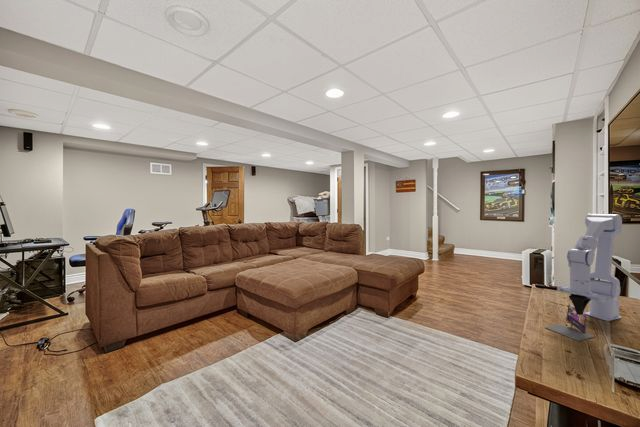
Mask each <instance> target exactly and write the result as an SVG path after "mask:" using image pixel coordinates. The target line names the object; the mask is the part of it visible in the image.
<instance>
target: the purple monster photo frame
mask: <svg viewBox="0 0 640 427" xmlns="http://www.w3.org/2000/svg"><path fill="white" fill-rule="evenodd" d="M573 311H575V312H576V310H575V307H574V305H571V304H568V305H567V311H566V312H567V313H566V318H565V320H566V322H568V323H569V324H571V325H570V327H571V328H573V326H574V327H575V329H577V330H579V331H582V332H583V333H586V330H587V329H586V327H587V320H588V319H587V316H586V314H584V313H583V314H582V315H581V316H582V317H583V319H584V322H583V323H581V322H580V315H578V314H576V313H574V312H573Z"/></svg>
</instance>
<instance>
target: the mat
mask: <svg viewBox="0 0 640 427" xmlns="http://www.w3.org/2000/svg"><path fill="white" fill-rule="evenodd" d="M544 329H546V330H549V331H552V332H554V333H557V334H558V335H561V336H563V337H567V338H569V339H571V340H574V341H576V342H581V341H586V340H590V339H592V338H596V336H595V335H593V334H589V333H587V332H585V333H583V332H582V331H581V330H579V329H577V328H574V327H571V326H568V325H565V324H564V323H557V324H553V325H550V326H545V327H544Z"/></svg>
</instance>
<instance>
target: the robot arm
mask: <svg viewBox="0 0 640 427" xmlns="http://www.w3.org/2000/svg"><path fill="white" fill-rule="evenodd" d="M584 223H585V226H586V232H585V235H583V236H580V237H579V238H578V240H577V242H576V244H575V245H574V247H573V248H571V249H569V250H568V251H567V253H566V254H567V255H566V259H567V260H566V261H567V263H568V268H569V286H565V285H564V286H563V285H557V287H556V290H557V292H564V293H567V294H569V295H568V298H569V300H570V302H571V303H572V306H573V307H574V308H575V310H576V311H575V310H574V311H575V314H577V315H578V316H582V314H584V315H585V316H586V315H587V316H590V317H593V318H596V319H600V320H603V321H605V322H609V321H613V320H619V319H622V318H623V317H622V316H620V302H619V299H618V298H619V297H620V295H621V282H620V280H619V279H618V278H617V277H615V276H614V275H613V274H612V263H613V254H614V253H613V252H614V244H615V243H614V242H615V238H616V236H619V235H620V234H621V233H622V227H623V218H622V216H621V215H620V214H619V213H616V214H613V213H612V214H611V213H607V214H605V213H602V214H601V213H588V214H587V215H586V216H585V220H584ZM595 251H596V255H595ZM595 256H596V257H595ZM594 260H595V267H594V271H593V272H591V265H593V263H594ZM588 304H589V311H586V312H584V311H585V309H586V307H587V305H588Z"/></svg>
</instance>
